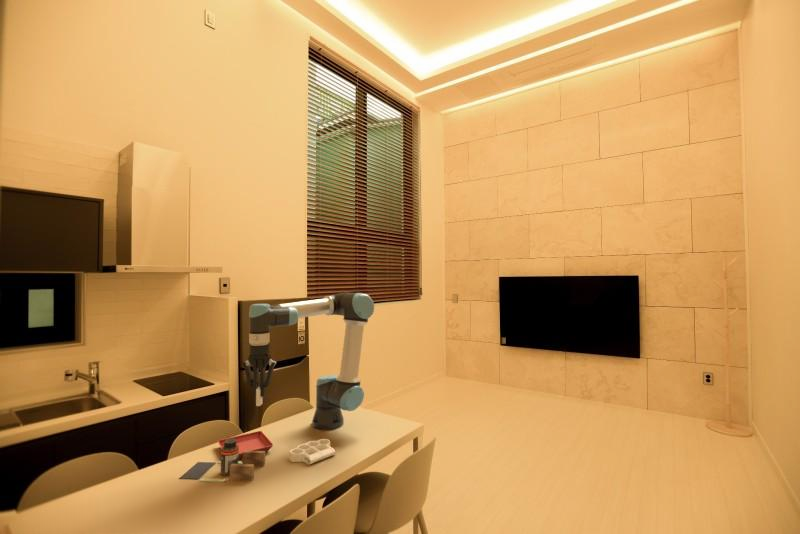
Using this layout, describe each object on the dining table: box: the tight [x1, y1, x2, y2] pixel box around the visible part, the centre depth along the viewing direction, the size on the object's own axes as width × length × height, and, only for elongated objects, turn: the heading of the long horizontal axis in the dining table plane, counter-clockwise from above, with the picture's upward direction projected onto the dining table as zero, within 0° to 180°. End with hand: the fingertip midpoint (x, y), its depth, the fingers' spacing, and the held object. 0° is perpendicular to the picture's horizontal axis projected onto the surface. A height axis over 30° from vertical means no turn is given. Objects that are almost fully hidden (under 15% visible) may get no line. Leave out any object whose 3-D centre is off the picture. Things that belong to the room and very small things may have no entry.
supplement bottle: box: [220, 439, 240, 476], centre depth 140 cm, size 6×6×11 cm
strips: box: [198, 460, 243, 483], centre depth 141 cm, size 8×14×1 cm, turn 178°
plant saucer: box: [217, 430, 274, 460], centre depth 159 cm, size 18×18×3 cm
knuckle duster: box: [289, 438, 336, 465], centre depth 155 cm, size 3×18×15 cm
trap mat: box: [178, 461, 217, 480], centre depth 141 cm, size 7×12×1 cm, turn 178°
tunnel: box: [228, 451, 266, 482], centre depth 140 cm, size 8×12×5 cm, turn 178°
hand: (259, 404), depth 149 cm, fingers closed
